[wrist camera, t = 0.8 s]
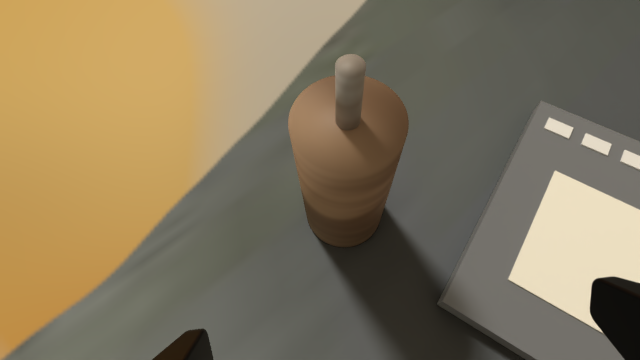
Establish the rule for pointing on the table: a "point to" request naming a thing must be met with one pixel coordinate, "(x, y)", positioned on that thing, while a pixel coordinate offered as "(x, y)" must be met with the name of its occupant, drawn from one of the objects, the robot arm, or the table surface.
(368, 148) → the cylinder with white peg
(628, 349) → the robot arm
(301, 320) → the table surface
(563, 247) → the grey flat block
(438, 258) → the table surface
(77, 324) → the table surface
